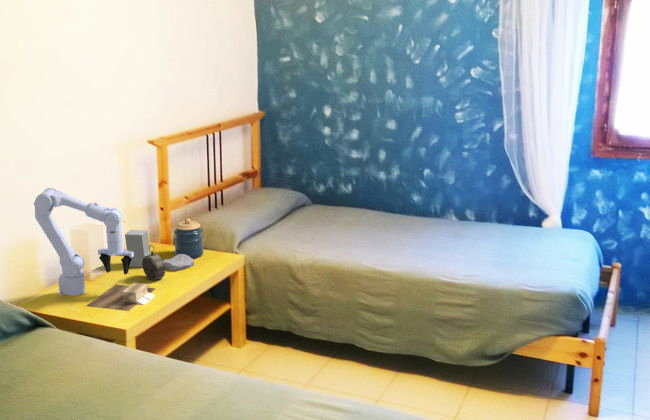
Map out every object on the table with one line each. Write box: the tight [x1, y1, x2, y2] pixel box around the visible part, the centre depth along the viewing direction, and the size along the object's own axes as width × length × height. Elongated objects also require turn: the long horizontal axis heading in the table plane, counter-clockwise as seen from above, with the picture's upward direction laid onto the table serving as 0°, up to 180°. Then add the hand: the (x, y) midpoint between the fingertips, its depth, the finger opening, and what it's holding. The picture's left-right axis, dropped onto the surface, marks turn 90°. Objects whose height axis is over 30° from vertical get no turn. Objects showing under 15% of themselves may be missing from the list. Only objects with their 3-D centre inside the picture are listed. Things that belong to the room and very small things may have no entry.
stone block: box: [162, 254, 195, 272], centre depth 308 cm, size 12×5×10 cm
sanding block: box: [123, 282, 148, 305], centre depth 269 cm, size 6×9×4 cm, turn 167°
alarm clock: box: [142, 244, 166, 281], centre depth 288 cm, size 11×5×16 cm, turn 47°
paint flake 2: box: [143, 292, 156, 301], centre depth 271 cm, size 4×4×1 cm
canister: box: [173, 217, 204, 260], centre depth 320 cm, size 13×13×18 cm
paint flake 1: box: [137, 297, 150, 306], centre depth 267 cm, size 4×4×1 cm
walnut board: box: [85, 283, 156, 312], centre depth 272 cm, size 18×22×2 cm
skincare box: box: [124, 229, 151, 268], centre depth 307 cm, size 8×7×16 cm
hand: (117, 272), depth 275 cm, fingers open, 7 cm apart
